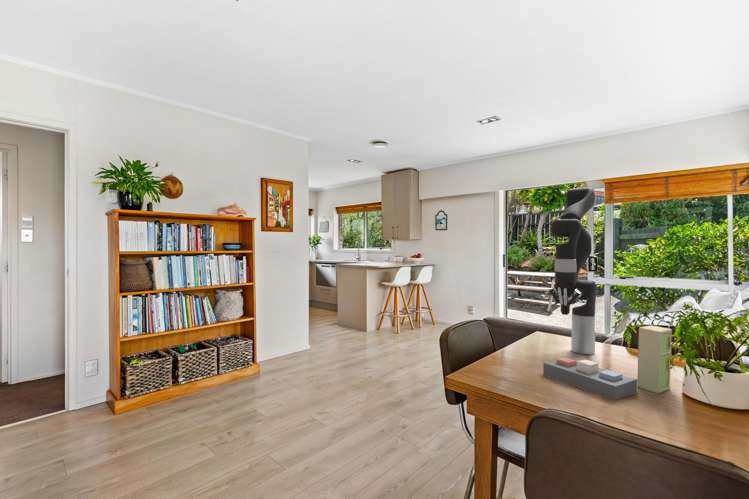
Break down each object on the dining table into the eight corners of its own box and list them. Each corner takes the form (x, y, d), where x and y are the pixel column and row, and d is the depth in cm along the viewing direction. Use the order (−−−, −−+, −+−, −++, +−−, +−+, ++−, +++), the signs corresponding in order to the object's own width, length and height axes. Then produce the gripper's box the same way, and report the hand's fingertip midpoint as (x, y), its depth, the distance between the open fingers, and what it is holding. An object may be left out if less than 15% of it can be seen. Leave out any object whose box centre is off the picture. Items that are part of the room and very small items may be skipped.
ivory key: (584, 370, 136) (585, 359, 136) (598, 374, 132) (598, 363, 132) (576, 372, 133) (577, 361, 133) (590, 376, 129) (590, 365, 129)
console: (564, 369, 147) (564, 357, 147) (636, 392, 124) (637, 379, 124) (543, 374, 141) (543, 362, 141) (615, 400, 118) (615, 386, 118)
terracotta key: (564, 367, 143) (564, 357, 143) (576, 371, 139) (576, 360, 139) (556, 369, 140) (556, 359, 140) (568, 373, 136) (568, 362, 136)
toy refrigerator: (660, 394, 123) (662, 331, 123) (636, 386, 129) (638, 327, 129) (673, 390, 127) (674, 329, 126) (649, 383, 133) (650, 325, 133)
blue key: (607, 381, 129) (607, 369, 129) (621, 386, 125) (622, 374, 125) (599, 383, 126) (599, 372, 126) (613, 388, 122) (614, 376, 122)
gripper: (588, 271, 140) (587, 316, 141) (555, 268, 152) (555, 310, 152) (576, 272, 137) (575, 318, 137) (544, 269, 148) (543, 312, 149)
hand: (565, 314), depth 145 cm, fingers closed
